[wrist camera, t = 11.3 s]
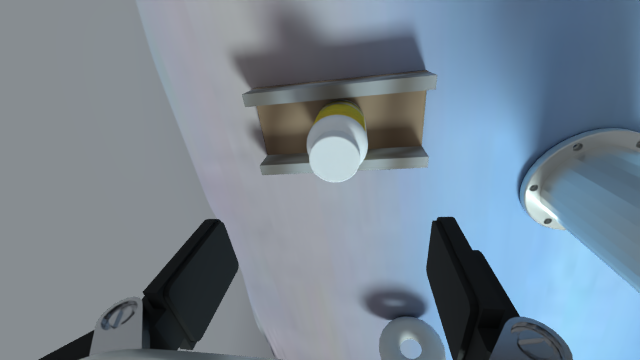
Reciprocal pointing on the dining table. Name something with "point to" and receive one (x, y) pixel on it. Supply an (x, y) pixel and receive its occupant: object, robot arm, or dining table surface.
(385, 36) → the dining table surface
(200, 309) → the robot arm
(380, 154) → the track
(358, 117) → the supplement bottle
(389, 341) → the donut
